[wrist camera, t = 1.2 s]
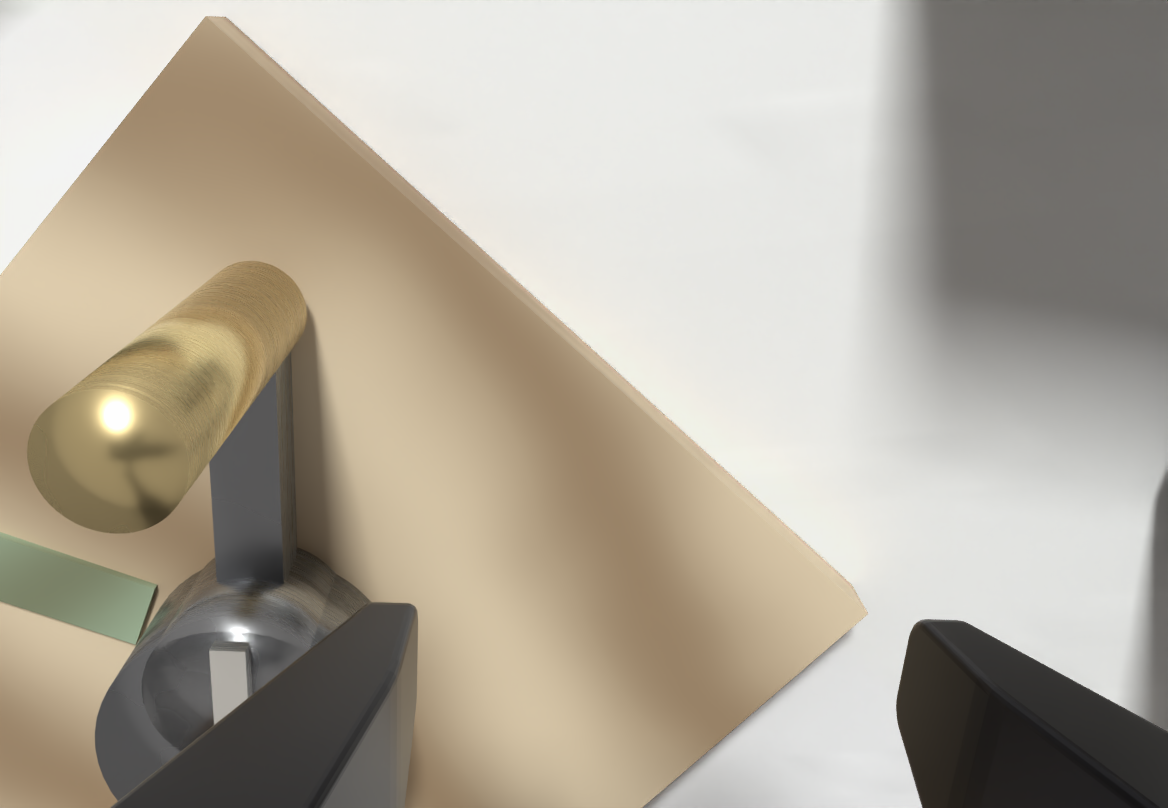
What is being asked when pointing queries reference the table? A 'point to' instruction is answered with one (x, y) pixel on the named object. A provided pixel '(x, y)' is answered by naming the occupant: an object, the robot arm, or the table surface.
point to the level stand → (390, 470)
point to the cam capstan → (239, 507)
